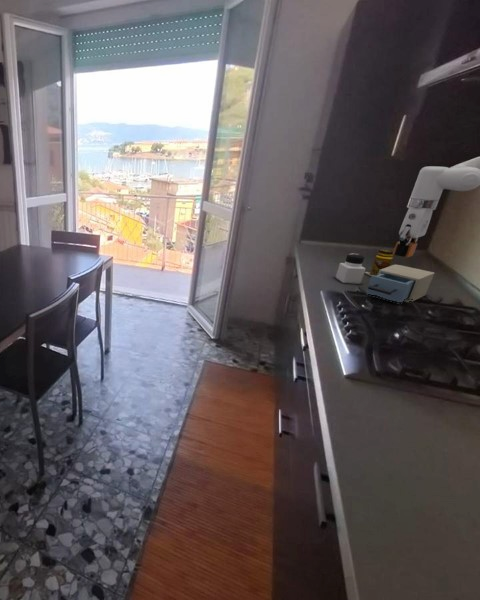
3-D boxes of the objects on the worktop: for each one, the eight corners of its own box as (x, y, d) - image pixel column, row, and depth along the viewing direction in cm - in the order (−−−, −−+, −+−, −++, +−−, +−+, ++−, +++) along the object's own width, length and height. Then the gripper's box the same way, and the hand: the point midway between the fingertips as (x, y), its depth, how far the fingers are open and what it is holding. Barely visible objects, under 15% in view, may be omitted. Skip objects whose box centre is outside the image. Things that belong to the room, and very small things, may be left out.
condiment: (375, 278, 160) (384, 252, 156) (362, 272, 168) (370, 247, 163) (391, 278, 160) (401, 252, 156) (377, 272, 168) (386, 247, 163)
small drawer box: (409, 302, 135) (419, 279, 131) (371, 292, 145) (379, 269, 141) (425, 295, 142) (434, 272, 138) (387, 285, 152) (395, 264, 148)
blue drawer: (392, 307, 129) (400, 287, 126) (357, 297, 138) (363, 278, 135) (415, 296, 138) (423, 278, 135) (381, 287, 147) (387, 269, 144)
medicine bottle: (361, 284, 154) (370, 257, 149) (342, 283, 155) (351, 256, 150) (352, 278, 160) (360, 252, 155) (335, 277, 161) (342, 252, 156)
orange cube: (412, 255, 130) (417, 243, 129) (407, 257, 128) (412, 245, 126) (397, 252, 134) (402, 240, 132) (392, 254, 132) (396, 242, 130)
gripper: (426, 207, 117) (405, 260, 124) (445, 203, 125) (425, 254, 132) (398, 204, 123) (380, 255, 130) (418, 201, 131) (400, 249, 138)
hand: (403, 254), depth 131 cm, fingers closed on orange cube, 4 cm apart
